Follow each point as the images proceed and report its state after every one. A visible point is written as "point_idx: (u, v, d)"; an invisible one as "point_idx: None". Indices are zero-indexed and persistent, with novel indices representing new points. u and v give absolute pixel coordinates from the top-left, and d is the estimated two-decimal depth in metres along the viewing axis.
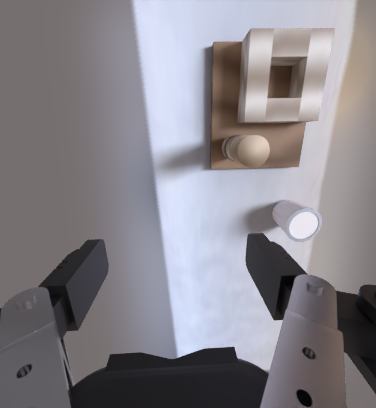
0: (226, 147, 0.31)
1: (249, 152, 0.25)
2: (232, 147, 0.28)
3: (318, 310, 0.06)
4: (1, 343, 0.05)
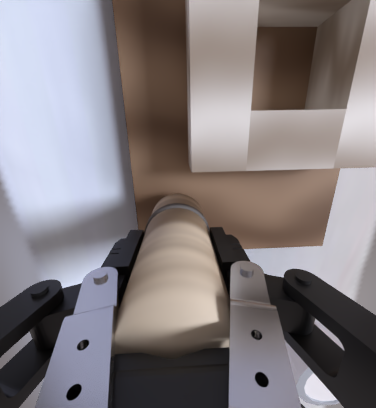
0: None
1: None
2: None
3: (253, 290, 0.06)
4: (76, 309, 0.06)
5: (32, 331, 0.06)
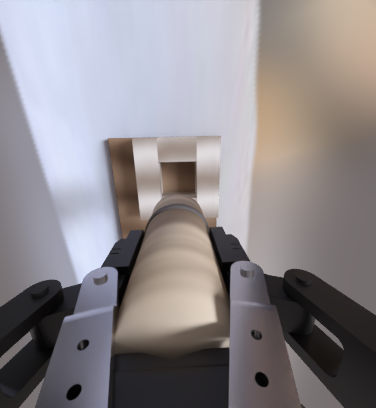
0: None
1: None
2: None
3: (253, 290, 0.06)
4: (76, 309, 0.06)
5: (32, 331, 0.06)
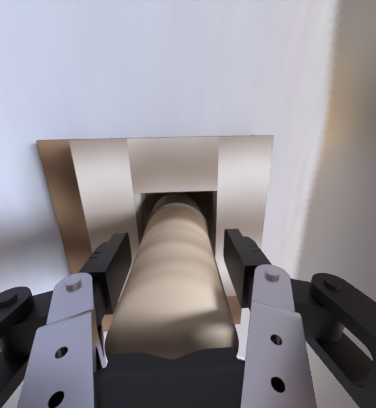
0: None
1: (152, 353, 0.06)
2: None
3: (277, 296, 0.06)
4: (49, 319, 0.06)
5: None
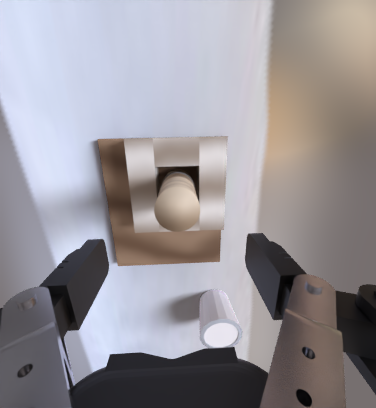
0: None
1: (170, 212, 0.17)
2: None
3: (317, 309, 0.06)
4: (2, 343, 0.05)
5: None
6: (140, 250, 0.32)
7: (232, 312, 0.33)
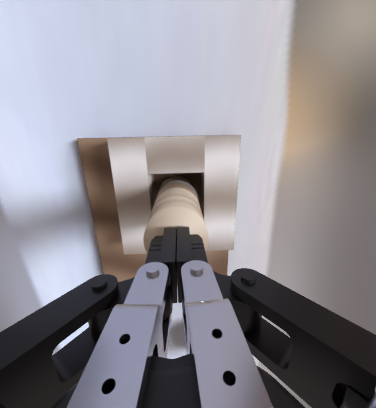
0: None
1: None
2: None
3: (206, 289, 0.07)
4: (127, 299, 0.06)
5: (93, 324, 0.07)
6: (133, 271, 0.27)
7: None
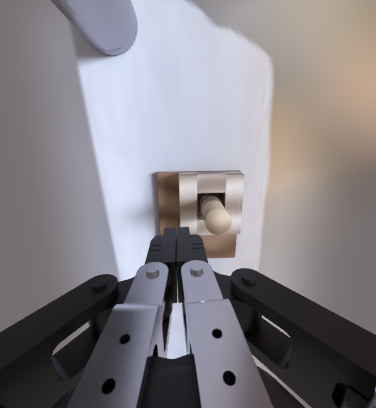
0: (201, 207, 0.36)
1: (214, 223, 0.30)
2: (203, 213, 0.33)
3: (206, 288, 0.07)
4: (127, 299, 0.06)
5: (93, 323, 0.07)
6: None
7: None
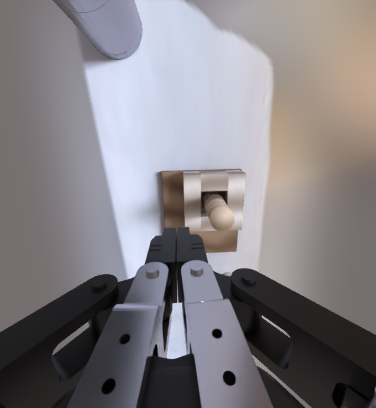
0: (205, 205, 0.38)
1: (218, 220, 0.32)
2: (207, 210, 0.35)
3: (206, 288, 0.07)
4: (127, 299, 0.06)
5: (92, 324, 0.07)
6: None
7: None
